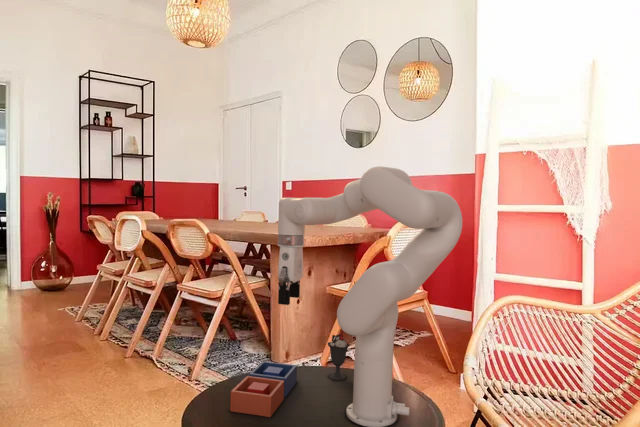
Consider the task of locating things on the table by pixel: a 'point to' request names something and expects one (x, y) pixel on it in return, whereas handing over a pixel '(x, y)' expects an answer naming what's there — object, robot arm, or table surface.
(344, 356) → the sundae
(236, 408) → the terracotta bin
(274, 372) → the blue block
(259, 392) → the red block
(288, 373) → the blue bin
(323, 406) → the table surface
